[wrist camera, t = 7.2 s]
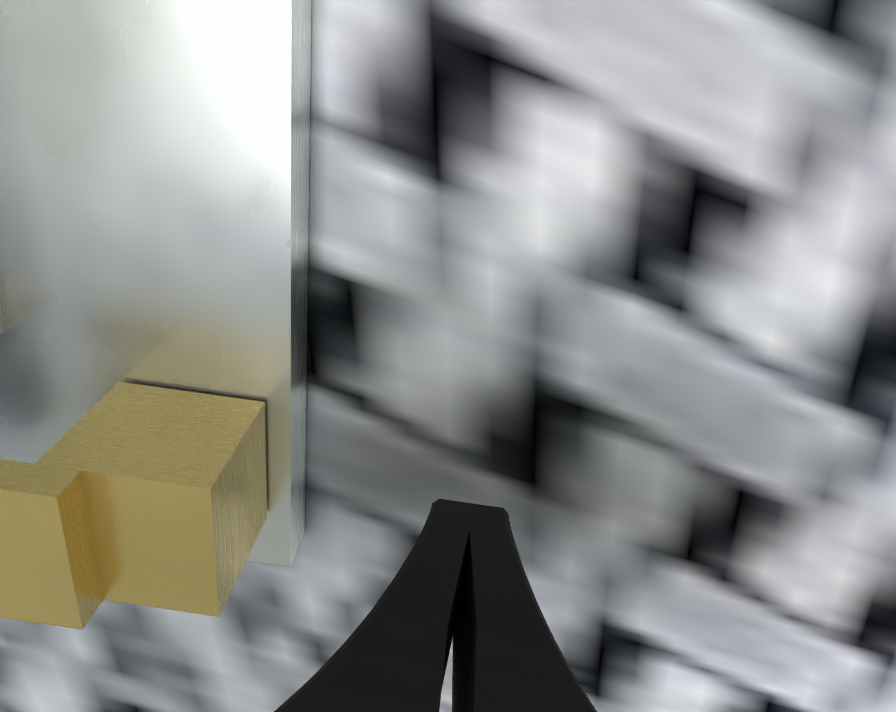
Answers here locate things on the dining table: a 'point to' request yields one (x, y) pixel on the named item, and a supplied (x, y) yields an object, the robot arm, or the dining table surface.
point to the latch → (135, 507)
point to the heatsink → (157, 218)
